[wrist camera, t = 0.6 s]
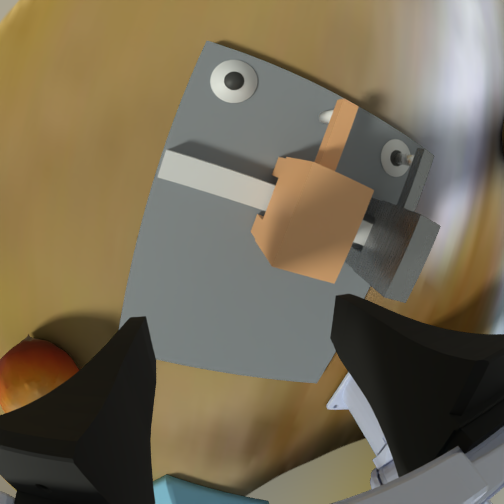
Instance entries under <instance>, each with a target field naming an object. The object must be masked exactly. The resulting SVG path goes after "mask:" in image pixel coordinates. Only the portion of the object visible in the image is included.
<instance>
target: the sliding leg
mask: <svg viewBox="0 0 504 504" xmlns="http://www.w3.org/2000/svg"><path fill="white" fill-rule="evenodd" d="M357 110H358V106H357V105H355V104H353V103H351V102H350V101H348V100H346V99H339V100H337V102H336V105H335V108H334V110H330V111H324V112H321V113H320V114H319V120H320V122H321V123H323V124H328V123H329V124H328V127H327V129H326V132H325V135H324V137H323V140H322V143H321V145H320V148H319V151H318V153H317V156H316V159H315V161H314V162H312V161H307V160H301V159H296V158H290V157H286V158H281V157H278V160H277V163H276V165H275V168H274V170H273V173H272V175H273V176H275V177H278V181H277V183H276V186H275V189H274V191H273V194H272V196H271V199H270V202H269V204H268V207H267V210H266V212H265V215H264V216H261V215H258V214H257V216H256V218H255V221H254V224H253V226H252V229H251V233H252V235H253V236H254V238H255V242H256V243H257V245H258V246H259V248H260V249H261V251H262V252H263V254H264V255H265V257H266V258H267V260H268V261H269V263H270V264H271V266H272V267H275V268H279V269H282V270H286V271H289V272H293V273H297V274H300V275H304V276H308V277H311V278H315V279H319V280H322V281H326V282H330V283H333V284H335V281H336V279H337V277H338V275H339V273H340V271H341V268H342V266H343V264H344V262H345V259H346V257H347V255H348V253H349V250H350V248H351V246H352V243H353V241H354V239H355V236H356V234H357V232H358V229H359V227H360V225H361V222H362V220H363V217H364V215H365V212H366V210H367V207H368V205H369V202H370V200H371V197H372V195H373V192H374V190H373V189H371V188H369V187H367V186H365V185H363V184H361V183H359V182H357V181H355V180H352V179H350V178H348V177H346V176H344V175H342V174H340V173H337V172H335V170H336V168H337V165H338V162H339V160H340V157H341V154H342V152H343V149H344V146H345V143H346V141H347V138H348V135H349V133H350V130H351V127H352V124H353V121H354V119H355V116H356V113H357Z"/></svg>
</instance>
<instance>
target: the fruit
mask: <svg viewBox="0 0 504 504" xmlns="http://www.w3.org/2000/svg"><path fill="white" fill-rule="evenodd" d="M78 371H79V369H78V367H77V366H76V364H75V363H74V361H73V359H72V358H71V357H70V356H69V355H68V354H67V353H66V352H65V351H64V350H62V349H60V348H58V347H57V346H56V345H54V344H53V343H51V342H49V341H46V340H41V339H35V338H31V337H30V336H29V334H28V336H27V338H25V339H24V340H22V341H21V342H20V343H19V344H17V345H16V346H15V347H13V348H12V349H11V350H9V351H8V352H7V353H6V354H5V355H4V356H3V357H2V358H1V359H0V404H1V406H2V408H3V410H4V412H5V413H8V412H10V411H13V410H15V409H18V408H20V407H23V406H25V405H27V404H29V403H31V402H33V401H35V400H37V399H39V398H40V397H42V396H44V395H46V394H47V393H49V392H51V391H52V390H53V389H55V388H56V387H58V386H59V385H61V384H62V383H64V382H65V381H67V380H68V379H69V378H71V377H72V376H73V375H74V374H76V373H77V372H78Z"/></svg>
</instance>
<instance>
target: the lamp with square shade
mask: <svg viewBox="0 0 504 504" xmlns="http://www.w3.org/2000/svg"><path fill="white" fill-rule="evenodd" d="M153 488H154V496H155V504H269V502H268V501H266V500H260V499H255V498H250V497H245V496H240V495H236V494H231V493H227V492H223V491H219V490H215V489H211V488H208V487H204V486H201V485H197V484H194V483H191V482H187V481H184V480H181V479H178V478H175V477H172V476H169V475H167V474H166V475H164V476H163V477H161V478H159V479H157V480H155V481H153Z"/></svg>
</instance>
